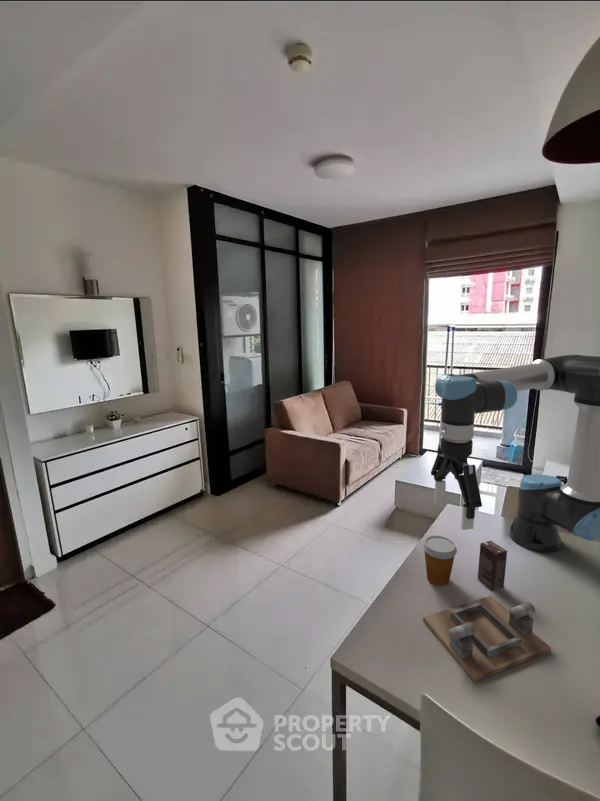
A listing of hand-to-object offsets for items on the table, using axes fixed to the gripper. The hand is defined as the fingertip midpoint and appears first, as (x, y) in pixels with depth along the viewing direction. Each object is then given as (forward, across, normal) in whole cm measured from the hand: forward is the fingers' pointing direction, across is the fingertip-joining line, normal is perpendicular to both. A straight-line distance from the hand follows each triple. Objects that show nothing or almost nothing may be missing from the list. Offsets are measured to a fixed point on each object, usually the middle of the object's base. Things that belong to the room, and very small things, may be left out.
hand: (452, 514), depth 100 cm
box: (+26, -4, +16) cm, 31 cm away
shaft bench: (+26, +13, +2) cm, 29 cm away
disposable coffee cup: (+26, -9, +2) cm, 28 cm away
